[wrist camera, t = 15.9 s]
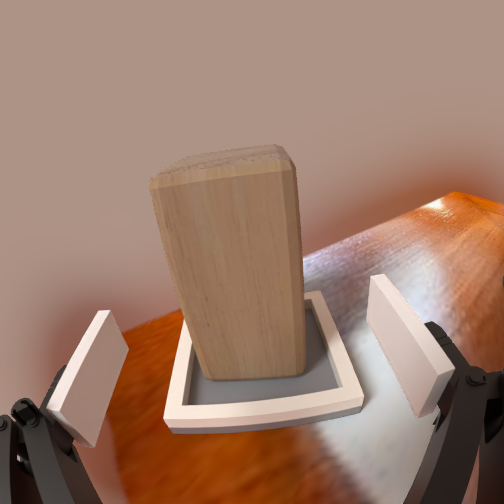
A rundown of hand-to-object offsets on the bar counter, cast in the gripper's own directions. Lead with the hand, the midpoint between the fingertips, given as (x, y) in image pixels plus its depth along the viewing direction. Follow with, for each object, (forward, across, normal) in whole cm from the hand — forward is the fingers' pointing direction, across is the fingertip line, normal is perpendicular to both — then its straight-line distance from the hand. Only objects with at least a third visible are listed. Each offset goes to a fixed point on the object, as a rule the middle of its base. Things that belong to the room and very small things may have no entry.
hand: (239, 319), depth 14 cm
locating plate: (+11, 0, -15) cm, 18 cm away
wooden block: (+12, 0, -14) cm, 18 cm away
